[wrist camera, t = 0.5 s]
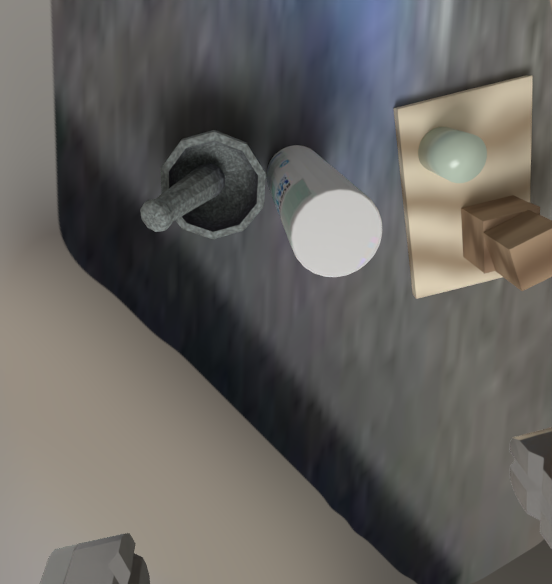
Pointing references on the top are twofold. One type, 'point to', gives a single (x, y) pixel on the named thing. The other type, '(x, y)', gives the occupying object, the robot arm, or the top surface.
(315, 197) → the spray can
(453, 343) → the top surface
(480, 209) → the base block
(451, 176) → the canister
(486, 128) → the board
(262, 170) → the mortar and pestle
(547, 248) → the top block
